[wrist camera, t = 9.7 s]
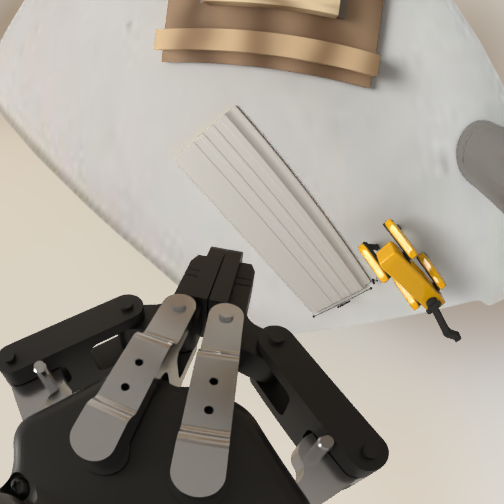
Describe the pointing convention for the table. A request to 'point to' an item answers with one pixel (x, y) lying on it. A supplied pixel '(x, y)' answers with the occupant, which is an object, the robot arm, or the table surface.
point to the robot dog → (409, 274)
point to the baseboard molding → (272, 211)
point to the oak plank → (288, 5)
